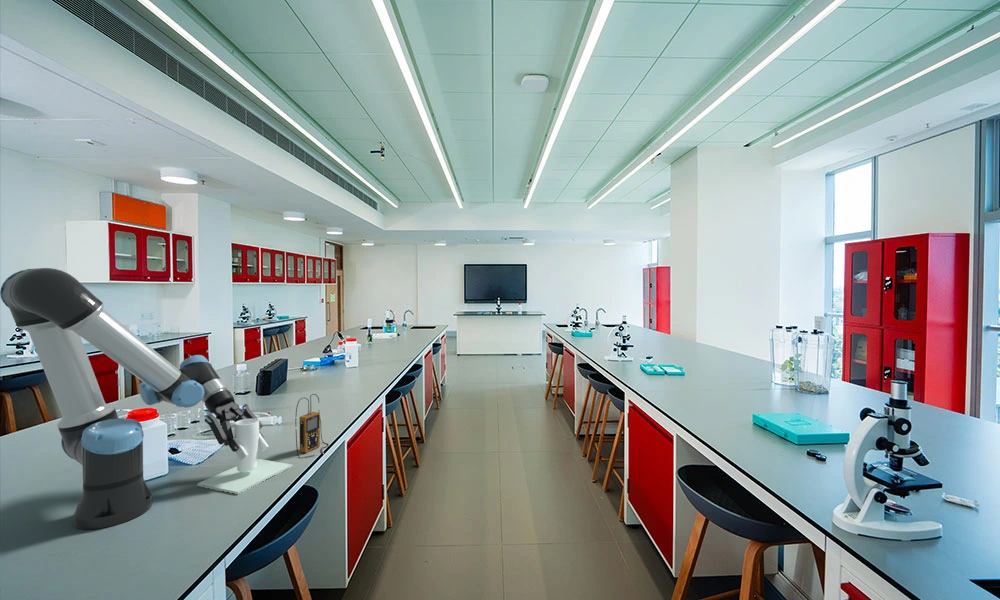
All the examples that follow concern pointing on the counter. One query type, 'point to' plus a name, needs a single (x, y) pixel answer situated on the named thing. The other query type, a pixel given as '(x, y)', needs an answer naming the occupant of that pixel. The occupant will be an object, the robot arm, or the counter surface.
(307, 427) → the multimeter
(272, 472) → the mat
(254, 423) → the white cup
